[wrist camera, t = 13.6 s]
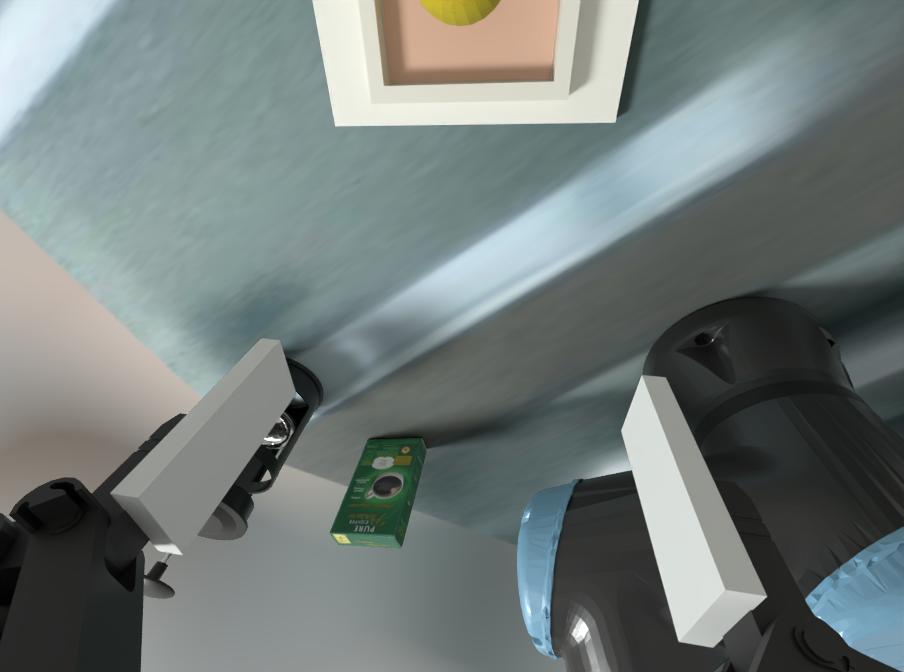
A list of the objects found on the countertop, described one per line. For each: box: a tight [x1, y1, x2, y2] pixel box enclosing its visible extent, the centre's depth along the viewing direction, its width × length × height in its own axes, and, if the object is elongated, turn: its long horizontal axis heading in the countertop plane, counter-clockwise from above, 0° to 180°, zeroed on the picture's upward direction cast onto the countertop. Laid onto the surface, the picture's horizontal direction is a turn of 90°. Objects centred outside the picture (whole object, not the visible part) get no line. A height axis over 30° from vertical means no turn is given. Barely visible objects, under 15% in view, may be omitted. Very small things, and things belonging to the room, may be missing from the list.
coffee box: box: [330, 438, 426, 549], centre depth 47 cm, size 8×3×13 cm, turn 103°
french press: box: [143, 358, 323, 599], centre depth 39 cm, size 12×9×23 cm
